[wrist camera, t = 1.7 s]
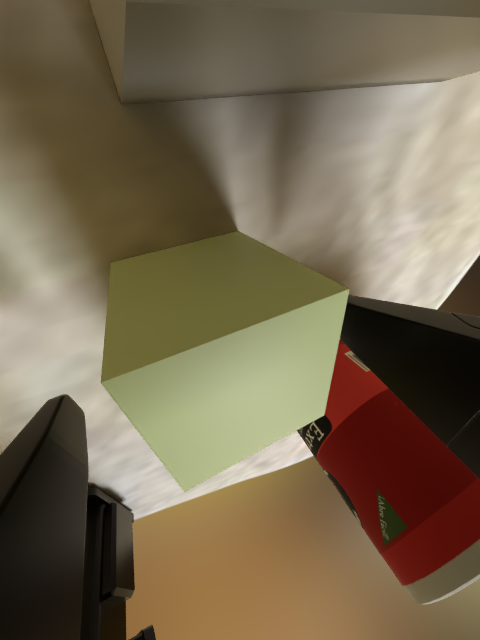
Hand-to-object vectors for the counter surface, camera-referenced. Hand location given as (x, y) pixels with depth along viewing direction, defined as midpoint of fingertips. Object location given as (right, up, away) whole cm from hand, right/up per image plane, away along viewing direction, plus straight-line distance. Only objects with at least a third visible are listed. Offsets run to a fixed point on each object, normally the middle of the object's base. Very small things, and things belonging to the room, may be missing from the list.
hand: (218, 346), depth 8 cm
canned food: (+7, -3, +11) cm, 13 cm away
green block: (-1, +2, +3) cm, 3 cm away
